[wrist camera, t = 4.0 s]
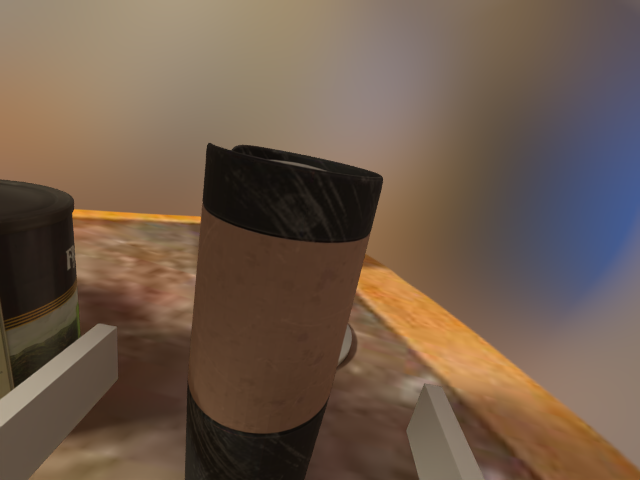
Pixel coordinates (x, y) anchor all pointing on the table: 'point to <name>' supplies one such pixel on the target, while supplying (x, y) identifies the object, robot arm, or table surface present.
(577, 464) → the table surface
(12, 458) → the robot arm
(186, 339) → the table surface
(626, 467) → the table surface
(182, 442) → the table surface
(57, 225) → the coffee can
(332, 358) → the travel mug
